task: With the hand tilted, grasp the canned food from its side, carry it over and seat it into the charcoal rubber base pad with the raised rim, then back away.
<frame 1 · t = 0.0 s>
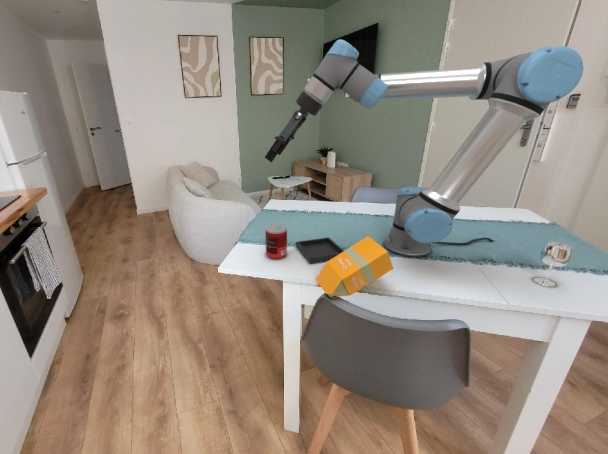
hand: (272, 156, 96), 36 cm above the table, tool tilted 35°, fingers open, 13 cm apart
wineglass: (544, 282, 85), on the table
orange juice: (381, 251, 84), point 11 cm above the table
base pad: (319, 252, 108), on the table
canned food: (276, 255, 108), on the table
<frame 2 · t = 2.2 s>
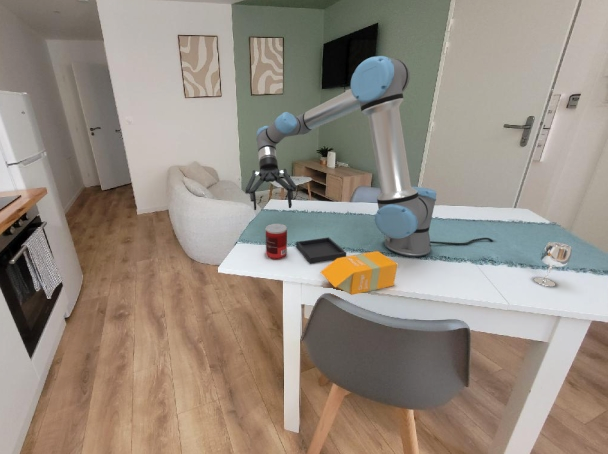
hand: (272, 207, 112), 15 cm above the table, tool tilted 45°, fingers open, 13 cm apart
orange juice: (385, 267, 89), point 4 cm above the table
everything else where it was.
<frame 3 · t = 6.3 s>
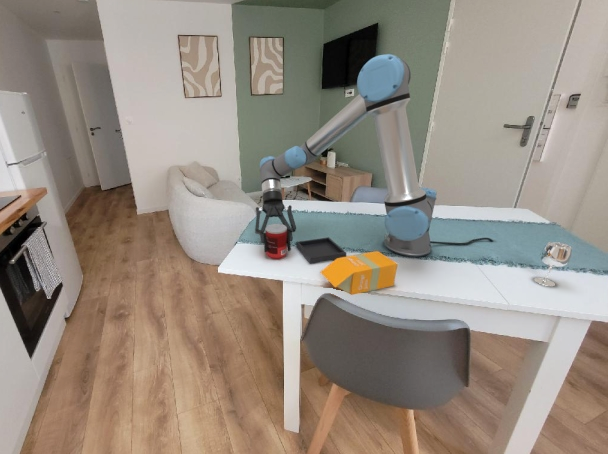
hand: (277, 250, 104), 4 cm above the table, tool tilted 45°, fingers closed on canned food, 8 cm apart
canned food: (276, 255, 108), on the table, touching gripper
everything else where it was.
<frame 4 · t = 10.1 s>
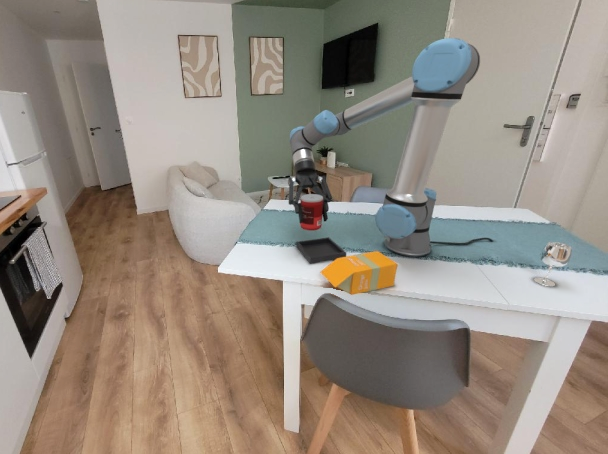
hand: (313, 220, 99), 14 cm above the table, tool tilted 45°, fingers closed on canned food, 8 cm apart
canned food: (310, 227, 104), point 11 cm above the table, touching gripper
everything else where it was.
when the fingers open (4 cm above the table, at t = 13.8 s): canned food stays where it is, resting on base pad.
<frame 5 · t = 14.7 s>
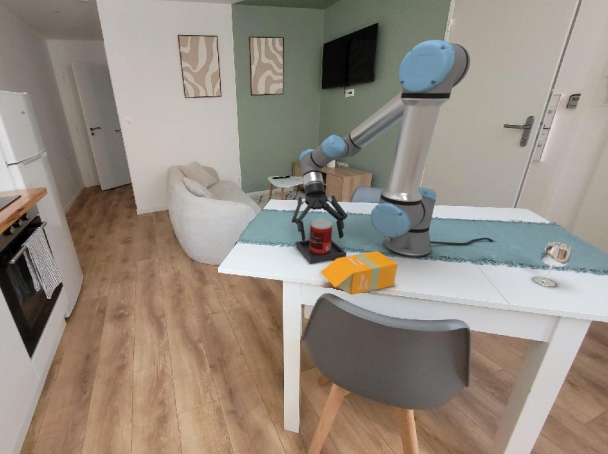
hand: (322, 238, 104), 7 cm above the table, tool tilted 45°, fingers open, 13 cm apart
canned food: (319, 250, 108), point 1 cm above the table, touching base pad
everything else where it was.
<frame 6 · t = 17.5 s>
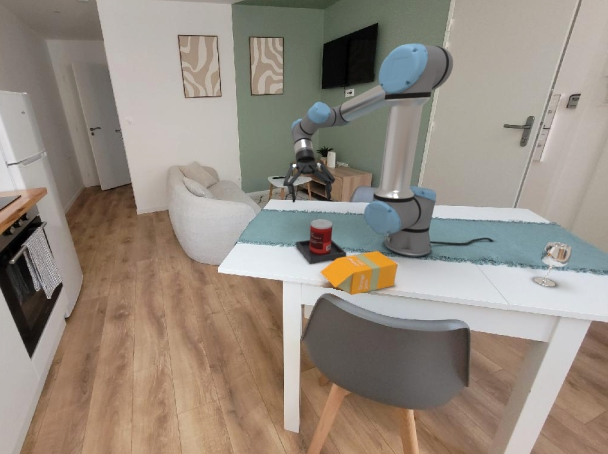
hand: (311, 200, 111), 17 cm above the table, tool tilted 45°, fingers open, 13 cm apart
nothing on the table moved.
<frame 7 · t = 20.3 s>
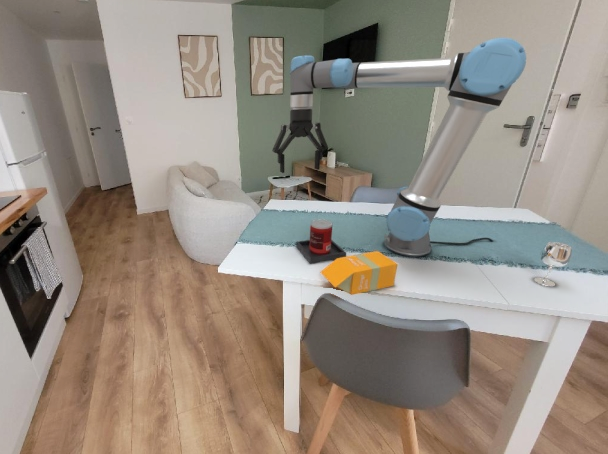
hand: (299, 170, 107), 29 cm above the table, tool pointing down, fingers open, 13 cm apart
nothing on the table moved.
at the end: canned food 0.1 cm off-centre in the base pad, point 0.6 cm above the base pad's base; canned food tilted 0°; the gripper is holding nothing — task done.
